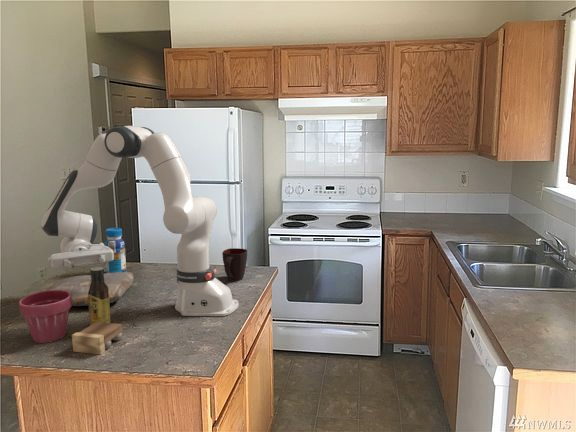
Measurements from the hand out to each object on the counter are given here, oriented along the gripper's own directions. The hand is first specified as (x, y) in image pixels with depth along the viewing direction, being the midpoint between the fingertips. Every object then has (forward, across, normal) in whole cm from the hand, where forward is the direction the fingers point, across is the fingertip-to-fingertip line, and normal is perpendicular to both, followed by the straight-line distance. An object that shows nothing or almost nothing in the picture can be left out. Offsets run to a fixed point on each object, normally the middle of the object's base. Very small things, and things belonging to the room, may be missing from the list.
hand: (87, 263), depth 163 cm
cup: (-7, +59, +18) cm, 62 cm away
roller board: (+25, -3, +18) cm, 31 cm away
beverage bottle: (-45, +21, +19) cm, 53 cm away
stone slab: (-19, +4, +19) cm, 27 cm away
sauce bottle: (+13, 0, +19) cm, 23 cm away
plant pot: (+11, -14, +19) cm, 26 cm away
